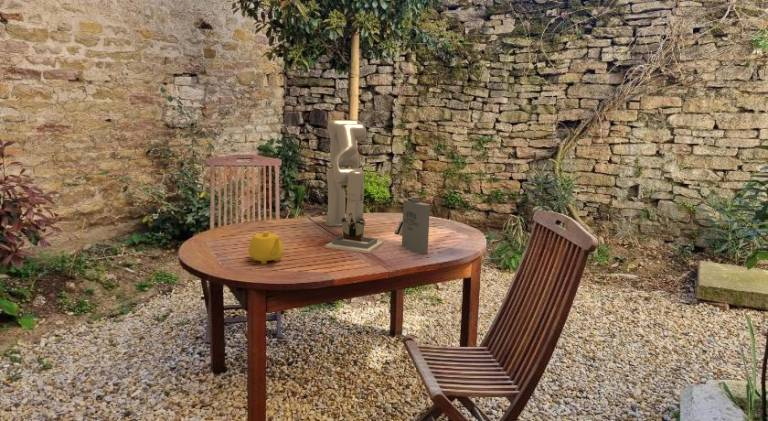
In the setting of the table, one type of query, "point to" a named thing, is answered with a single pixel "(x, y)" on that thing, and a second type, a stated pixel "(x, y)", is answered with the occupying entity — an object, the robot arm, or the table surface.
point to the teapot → (265, 247)
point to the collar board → (355, 244)
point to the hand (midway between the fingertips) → (354, 235)
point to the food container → (358, 227)
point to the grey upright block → (415, 225)
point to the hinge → (399, 228)
